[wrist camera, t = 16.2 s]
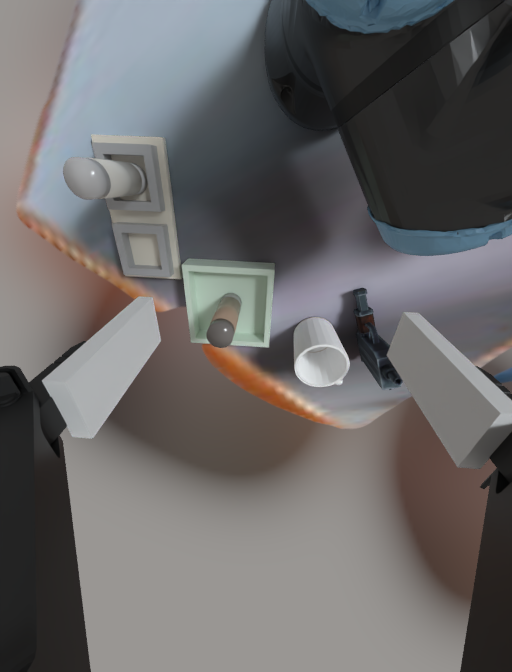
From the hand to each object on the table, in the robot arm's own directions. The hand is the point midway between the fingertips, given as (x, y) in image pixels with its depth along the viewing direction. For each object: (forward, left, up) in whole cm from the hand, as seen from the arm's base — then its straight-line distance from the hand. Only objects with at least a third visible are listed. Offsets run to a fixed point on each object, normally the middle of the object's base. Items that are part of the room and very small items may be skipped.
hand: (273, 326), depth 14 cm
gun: (+16, +18, -32) cm, 40 cm away
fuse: (-6, -21, -31) cm, 38 cm away
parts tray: (+13, -7, -32) cm, 35 cm away
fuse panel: (-1, -21, -32) cm, 38 cm away
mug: (+20, +10, -32) cm, 39 cm away
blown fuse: (+13, -7, -31) cm, 34 cm away
